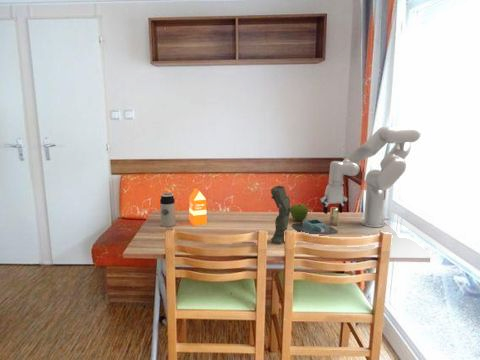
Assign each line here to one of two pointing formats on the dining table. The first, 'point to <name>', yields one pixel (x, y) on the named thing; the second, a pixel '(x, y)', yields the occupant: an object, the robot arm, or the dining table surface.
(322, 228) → the shaft mount
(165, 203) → the travel mug
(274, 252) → the dining table surface
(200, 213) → the orange juice
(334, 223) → the coupler
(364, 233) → the dining table surface
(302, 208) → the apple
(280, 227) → the mechanical leg
